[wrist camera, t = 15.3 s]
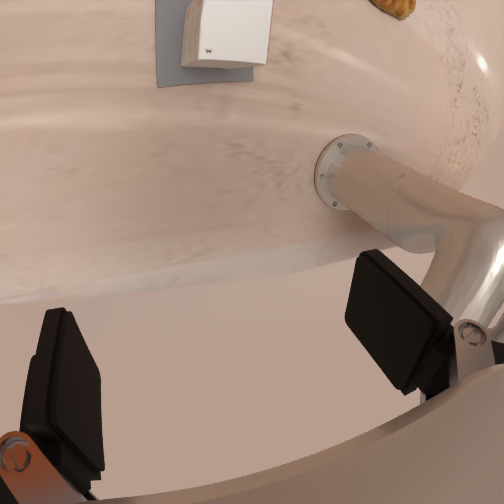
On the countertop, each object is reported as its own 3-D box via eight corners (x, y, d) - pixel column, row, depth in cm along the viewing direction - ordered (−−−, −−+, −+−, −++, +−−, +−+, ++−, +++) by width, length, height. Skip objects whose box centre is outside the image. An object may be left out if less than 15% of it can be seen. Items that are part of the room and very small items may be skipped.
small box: (230, 69, 36) (268, 66, 25) (180, 67, 34) (196, 61, 23) (236, 11, 32) (276, -13, 21) (185, 7, 30) (205, -23, 19)
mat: (250, -3, 32) (252, -4, 31) (251, 81, 38) (253, 81, 37) (155, -1, 29) (155, -2, 28) (157, 87, 35) (157, 87, 34)
